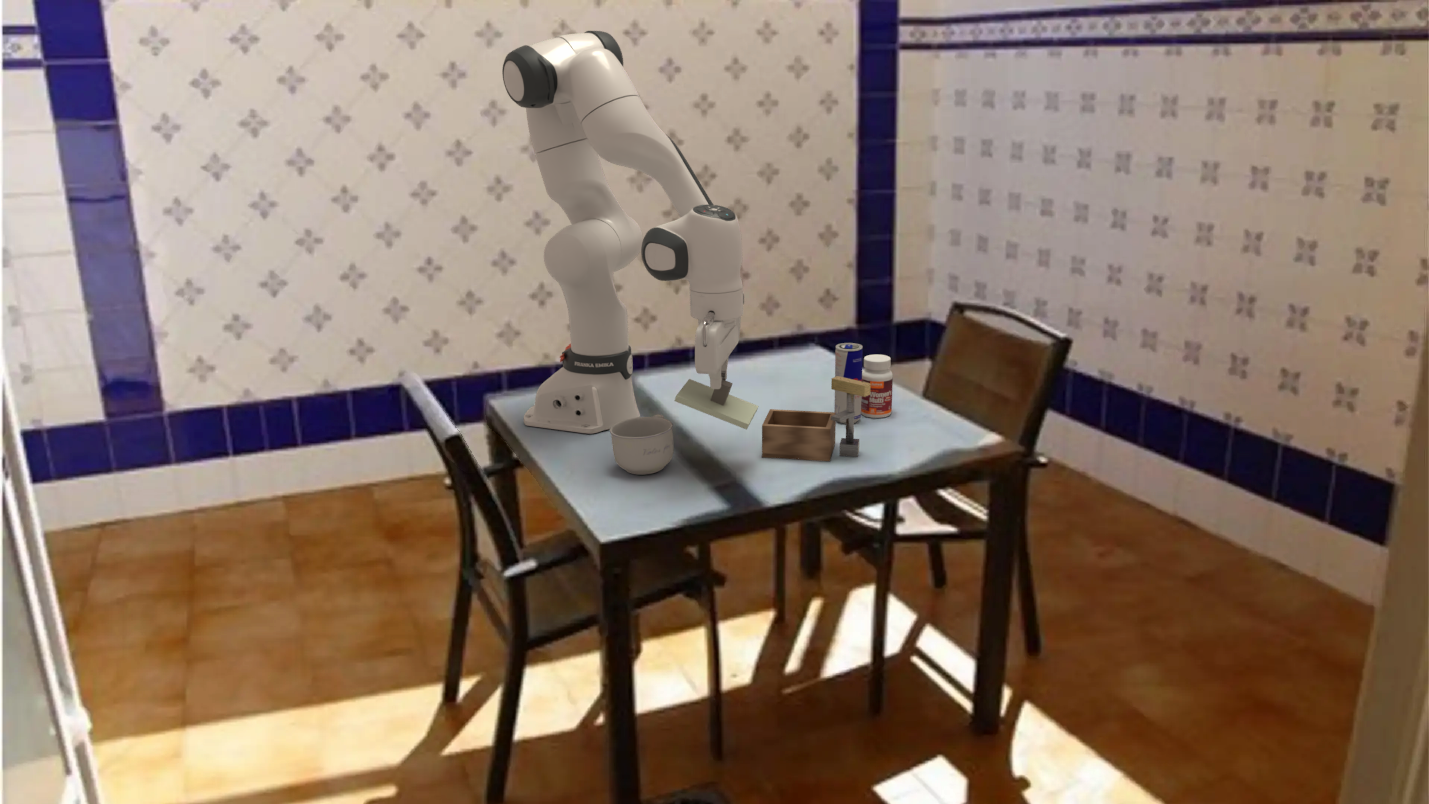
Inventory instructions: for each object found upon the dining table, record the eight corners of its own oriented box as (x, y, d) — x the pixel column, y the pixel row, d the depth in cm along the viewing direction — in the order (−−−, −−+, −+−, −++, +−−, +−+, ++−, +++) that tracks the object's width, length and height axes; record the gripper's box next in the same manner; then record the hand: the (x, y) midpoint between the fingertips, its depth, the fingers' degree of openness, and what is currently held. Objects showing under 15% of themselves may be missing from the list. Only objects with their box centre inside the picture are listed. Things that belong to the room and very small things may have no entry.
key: (851, 452, 205) (852, 390, 202) (818, 443, 210) (819, 383, 206) (868, 444, 209) (870, 383, 205) (836, 435, 213) (837, 376, 210)
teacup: (650, 484, 199) (649, 440, 196) (599, 472, 204) (596, 429, 202) (695, 458, 210) (694, 416, 208) (645, 448, 216) (644, 406, 213)
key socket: (839, 455, 210) (839, 444, 209) (841, 449, 213) (841, 438, 212) (857, 456, 209) (857, 445, 209) (859, 450, 212) (859, 439, 212)
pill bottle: (869, 420, 228) (871, 364, 224) (854, 411, 233) (855, 355, 230) (897, 416, 230) (899, 360, 226) (881, 406, 235) (882, 352, 232)
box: (762, 457, 210) (762, 425, 208) (770, 440, 218) (770, 409, 217) (829, 461, 208) (830, 429, 206) (835, 443, 216) (835, 412, 214)
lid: (672, 405, 198) (682, 377, 196) (686, 387, 208) (695, 360, 206) (745, 433, 197) (755, 405, 195) (755, 415, 207) (765, 388, 205)
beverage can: (859, 425, 225) (861, 349, 220) (832, 424, 226) (834, 348, 221) (862, 416, 230) (863, 342, 225) (835, 415, 231) (836, 341, 226)
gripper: (723, 320, 186) (725, 404, 191) (746, 291, 205) (747, 368, 210) (683, 319, 188) (686, 402, 192) (710, 290, 207) (712, 367, 211)
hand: (718, 384), depth 201 cm, fingers closed on lid, 2 cm apart
